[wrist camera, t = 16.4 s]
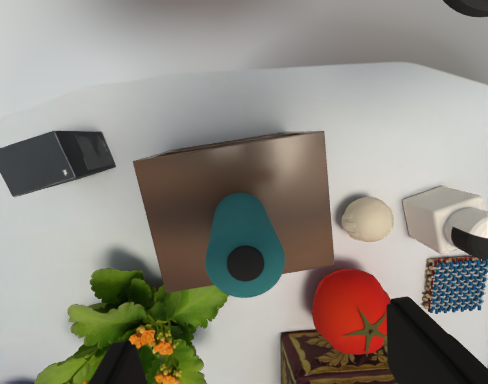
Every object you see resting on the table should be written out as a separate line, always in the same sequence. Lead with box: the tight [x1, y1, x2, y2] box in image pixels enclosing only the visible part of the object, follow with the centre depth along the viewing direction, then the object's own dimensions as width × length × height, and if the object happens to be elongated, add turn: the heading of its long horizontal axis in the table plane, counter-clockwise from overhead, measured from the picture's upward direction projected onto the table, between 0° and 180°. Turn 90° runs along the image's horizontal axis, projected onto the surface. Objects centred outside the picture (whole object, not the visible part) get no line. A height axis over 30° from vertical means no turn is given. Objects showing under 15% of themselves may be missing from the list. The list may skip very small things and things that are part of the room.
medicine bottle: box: [403, 186, 488, 259], centre depth 38 cm, size 7×7×12 cm
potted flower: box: [34, 268, 229, 384], centre depth 37 cm, size 25×24×18 cm
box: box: [0, 131, 116, 197], centre depth 34 cm, size 8×6×11 cm
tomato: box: [312, 269, 390, 356], centre depth 41 cm, size 13×12×11 cm
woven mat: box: [423, 256, 488, 314], centre depth 46 cm, size 10×11×2 cm
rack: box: [133, 131, 334, 293], centre depth 33 cm, size 14×18×16 cm
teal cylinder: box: [205, 193, 285, 298], centre depth 21 cm, size 5×5×9 cm
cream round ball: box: [342, 197, 393, 242], centre depth 40 cm, size 7×7×7 cm
